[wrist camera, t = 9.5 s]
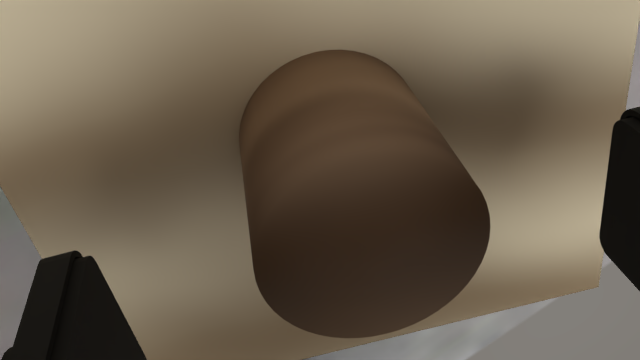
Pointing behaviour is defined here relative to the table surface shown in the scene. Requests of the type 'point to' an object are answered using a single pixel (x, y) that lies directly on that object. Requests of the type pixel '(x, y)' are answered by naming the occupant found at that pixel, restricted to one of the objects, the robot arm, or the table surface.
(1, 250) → the table surface
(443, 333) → the table surface
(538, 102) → the cover
